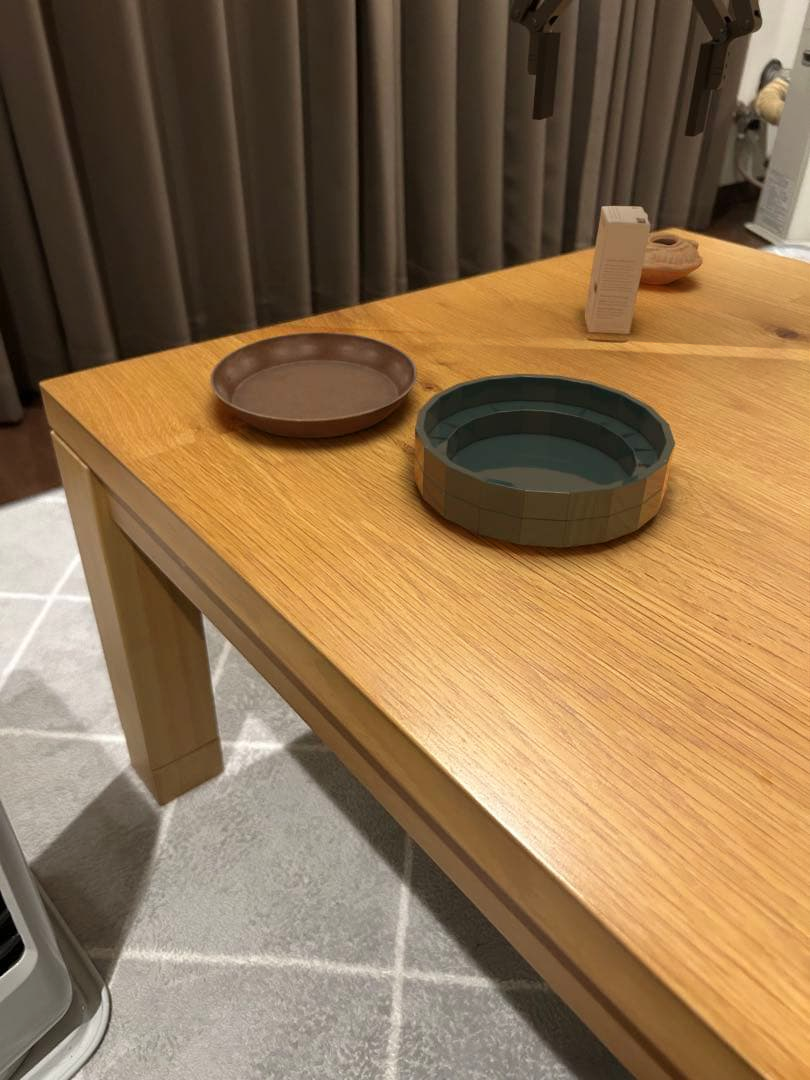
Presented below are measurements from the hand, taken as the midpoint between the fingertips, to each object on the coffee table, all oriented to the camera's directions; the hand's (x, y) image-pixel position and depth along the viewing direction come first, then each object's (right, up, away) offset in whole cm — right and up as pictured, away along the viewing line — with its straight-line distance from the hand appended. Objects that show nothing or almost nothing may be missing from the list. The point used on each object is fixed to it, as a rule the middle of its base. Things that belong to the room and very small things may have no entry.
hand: (615, 126), depth 74 cm
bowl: (-8, -31, -9) cm, 34 cm away
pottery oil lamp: (+11, -4, +31) cm, 33 cm away
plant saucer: (-26, -23, +2) cm, 35 cm away
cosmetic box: (+3, -14, +17) cm, 22 cm away
